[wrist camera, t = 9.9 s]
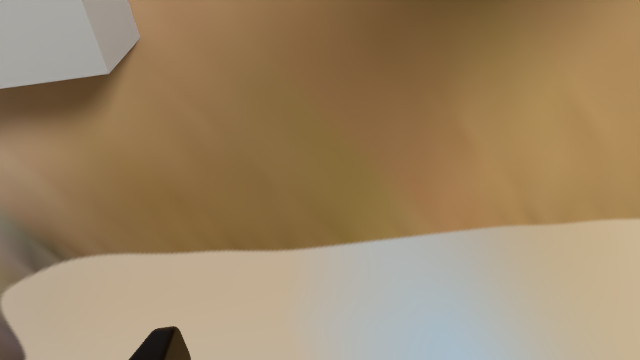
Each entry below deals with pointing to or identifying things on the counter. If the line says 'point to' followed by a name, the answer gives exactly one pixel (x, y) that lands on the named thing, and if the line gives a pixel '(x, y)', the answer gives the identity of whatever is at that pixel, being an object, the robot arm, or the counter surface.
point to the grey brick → (62, 39)
